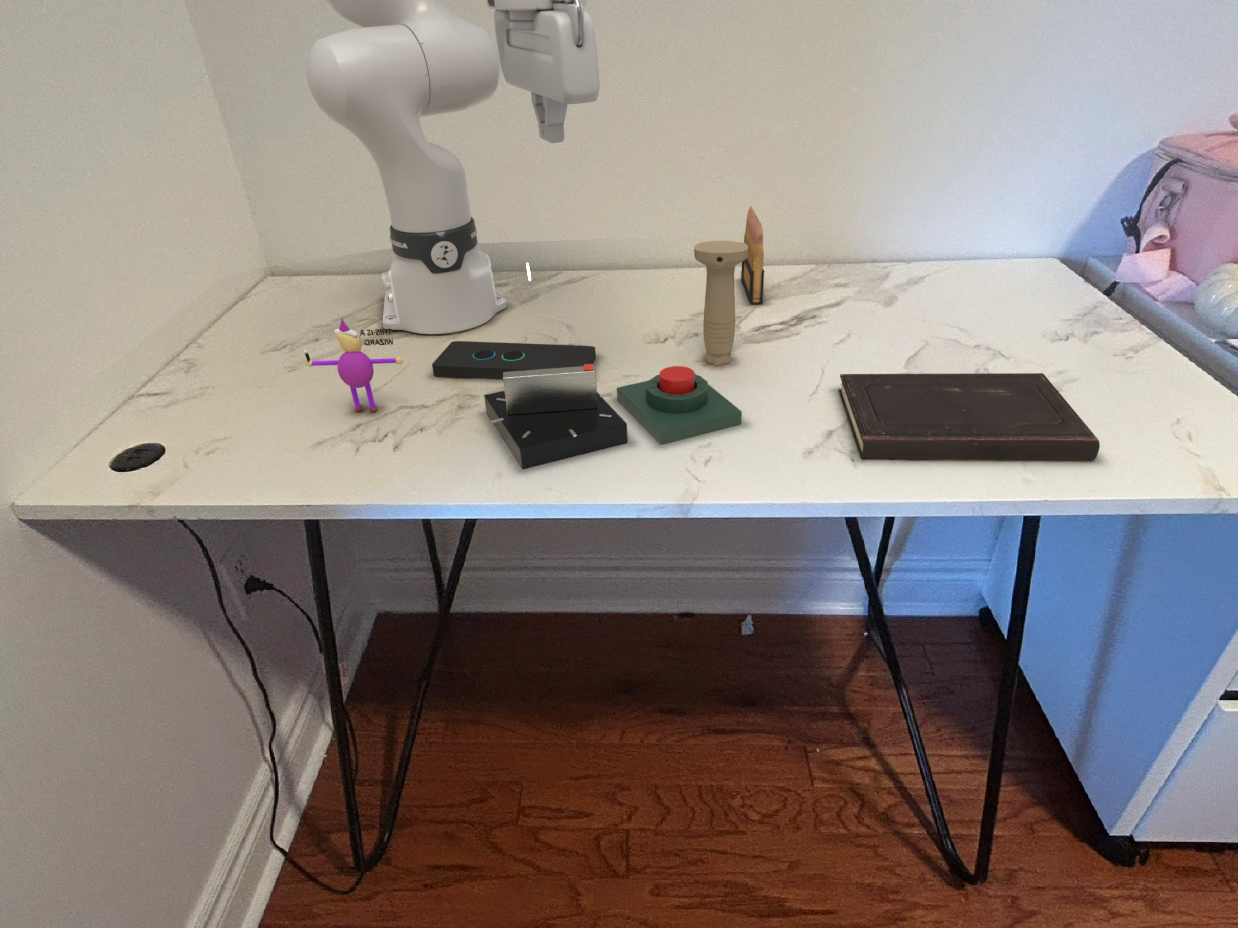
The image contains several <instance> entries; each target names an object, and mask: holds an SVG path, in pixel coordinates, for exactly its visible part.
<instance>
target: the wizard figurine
mask: <svg viewBox="0 0 1238 928" xmlns="http://www.w3.org/2000/svg"><path fill="white" fill-rule="evenodd" d="M374 331H376V332H375V336H384V335H385V334H386V336H388V335H389V336H391V334H392V333H391V331H392V330H391V329H385V331H384V328H382V329H381V328H380V329H378V328H377V329H375V330H374ZM374 331H373V329H366V332H367V334H365V332H364V331H363V329H361V330H360V332H357V331H356V330H354V329H350V327H349V326H348V325H347V323H346V321H344V319H343V318H342V317H341V318H340V324H339V328H335V329H334V331H333V333H334V335H335V336H336V340H338V342H339V345H340V347H341V349H342V350H343V351H344V352H343V353H341V355H340V357H339V358H338V359H336V360H335V359H334V360H332V359H331V360H313V359H311V358H310V354H309V351H308V349H305V350H304V351H303V352H304V356H305V359H306V361H305V365H306V366H307V367H309V368H311V367H314V366H315V367H316V366H318V367H319V366H337V367H336V368H337V374H338V376H339V378H340V379H341V381H342V382H343V383H344V384H346V385H347V386H348V387H349V388H350V393H351V397H352V400H353V405H354V411H356V412H362V411H363V410H364V405H362V404H361V402H360V397H359V394H358V391H357V389H361V388H364V389H365V392H366V397H367V400H368V401H367V402H368V405H369V411H370V412H374V413H375V412H376V411H377V410H378V405H376V403H375V399H374V394H373V390H372V386H371V381H372V380H373V378H374V371H375V370H374V365H375V364H377V365H378V364H379V365H380V364H382V365H383V364H396V365H402V364H403V363H404V360H403V358H402V357H399V356H397V357H395V358H394V357H393V358H370V357H369V356H368V355H367V354H366V353H365V352H363V351H362V341H361V336H364V337H365V336H366V335H367V336H369V337H371V336H374ZM363 343H364V345H365V346H369V347H370V346H377V345H378V346H386V345H387V346H390V345H391V346H393V344H394V338H392V339H391V338H389V339H387V338H381V339H380V338H379V339H378V338H376V339H375V340H374V339H365V340H364V342H363Z"/></svg>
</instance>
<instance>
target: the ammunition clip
mask: <svg viewBox="0 0 1238 928" xmlns="http://www.w3.org/2000/svg"><path fill="white" fill-rule="evenodd" d="M745 221H746V222H745V223H746V224H745V230H744V236H743V243H745V244H747V245H748V256H747V258H746V259H745V260H744V261H743V262H741V269H740V270H741V273H740V282H741V285H742V288H743V290H744V294H745V295H746V298H747V300H748V303H749V305H763V301H764V283H765V281H764V280H765V270H764V255H765V253H764V230H763V226H762V223H761V221H760V219H759V218H758V216H757V214H756V212H755V210H754V209H753V207H752V206H749V207H748V211H747V214H746V220H745Z"/></svg>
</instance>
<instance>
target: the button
mask: <svg viewBox="0 0 1238 928" xmlns="http://www.w3.org/2000/svg"><path fill="white" fill-rule="evenodd" d="M695 374H696V373H695V370H693V369H692V368H691V367H688V366H683V365H672V366H667V367H664V368H663V369H661V370H660V371H659V374H658V375H659V387H660V390H661V392H665V393H668V394H685V393H689V392H692V391H693V390H694V389H695Z"/></svg>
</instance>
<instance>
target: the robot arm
mask: <svg viewBox="0 0 1238 928" xmlns="http://www.w3.org/2000/svg"><path fill="white" fill-rule="evenodd" d="M327 2H328V4H329V5H330V6H331V8H332V9H333V10H334V11H335V12H336V14H338V15H339V16H340V17H342V18H343V19H344V20H346V21H348V22H350V23H352V24H354V25H356V26H359V27H352V28H347V29H344V30H340V31H339V32H338V31H337V32H335V33H333V34H330V35H327V36H324V37H321V38H319V39H317V40H315V41H314V43H313V44H312V47H311V48H310V51H309V53H308V57H307V62H306V79H307V84H308V88H309V91H310V93H311V96H312V98H313V99H314V102H315V103H316V105H317V106H318V108H319V109H320V110H321V111H322V112H323V113H324V114H325V115H326V116H327V117H328V118H329V119H330V120H332V121H334V122H335V123H337V124H339V125H340V126H342V127H343V128H345V129H346V130H348V131H349V132H350V133H351V134H353V135H354V136H355V137H356V139H358V140H359V141H360V142H361V144H362V145H363V146H364V147H365V148H366V150H367V151H368V153H369V154H370V156H371V157H372V159H373V161H374V163H375V165H376V167H377V169H378V172H379V175H380V178H381V182H382V187H383V191H384V193H385V197H386V202H387V206H388V211H389V217H390V222H391V225H390V227H389V233H390V234H389V239H390V240H389V241H390V243H391V248H392V252H393V253H394V255H393V257H392V260H391V264H390V267H389V268H390V269H389V270H388V271H386V272H382V273H380V277H381V282H382V283H381V284H382V287H383V289H388V290H386V291H385V292H384V298H383V299H384V300H383V312H382V329H383V330H386V329H391V330H390V331H405V332H410V333H414V334H421V335H422V334H423V335H443V334H452V333H458V332H463V331H467V330H470V329H474V328H476V327H479V326H481V325H484V324H485V323H487V322H489V321H490V320H491V319H492V318H493V317H494V316H495V315H496V314H497V313H499V312H501V311H503V310H505V309H506V308H507V307H509V306H508V301H507V299H506V298H504V297H503V296H501V295H499V294H497V292H496V286H495V283H494V282H495V281H494V275H493V271H492V265H491V258H490V256H489V255H488V254H486V252H484V251H483V250H482V249H480V248H479V247H478V246H477V245H478V243H479V242H478V231H477V226H476V222H475V219H474V217H472V216H471V208H470V200H469V192H468V184H467V177H466V176H467V175H466V169H465V167H464V165H463V164H462V162H461V160H460V159H459V157H457V155H455V153H453V152H452V151H450V150H448V149H446V148H445V147H443V146H440V145H437V144H435V143H433V142H429V141H428V140H427V138H426V136H425V134H424V132H423V129H422V126H421V120H420V118H424V117H428V116H436V115H443V114H450V113H456V112H457V113H458V112H462V111H464V110H468V109H469V108H473V107H475V106H477V105H479V104H481V103H484V102H486V101H488V100H490V99H491V98H492V97H493V96H494V95H495V94H496V91H497V89H498V86H499V82H500V79H501V73H502V76H503V77H504V81H505V82H506V84H508V85H509V86H513V87H516V88H518V89H521V90H524V91H527V92H530V96H531V97H530V99H531V104H532V107H533V110H534V114H535V118H536V120H537V125H538V135H539V138H540V139H542V140H544V141H546V142H548V143H550V144H557V143H562V142H564V141H565V125H564V124H565V119H566V116H567V111H568V105H579V104H587V103H594V102H596V101H597V100H598V98H599V94H600V87H601V85H600V83H601V82H600V70H599V59H598V51H597V40H596V34H595V28H594V23H593V19H592V18H591V15H590V14H589V13H588V12H587V11H585V10H584V7H586V6H587V5H588V0H486V4H487V6H488V8H489V9H491V10H494V12H493V26H494V33H495V39H496V44H495V42H494V40H493V39H492V37H491V36H490V34H488V32H487V31H486V30H485V29H484V28H483V26H480V25H478V24H476V23H474V22H472V21H469V20H467V19H466V18H463V17H462V16H460V15H458V14H457V13H455V12H453V11H452V10H451V9H449V8H448V7H447V6H445V5H444V4H443V3H442V2H441V1H440V0H327ZM496 45H497V46H496ZM525 265H526V271H527V278H528V281H529V282H531V281H532V277H531V270H530V265H529V262H526V264H525Z"/></svg>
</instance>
